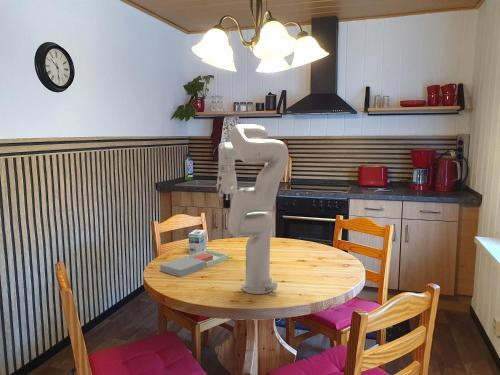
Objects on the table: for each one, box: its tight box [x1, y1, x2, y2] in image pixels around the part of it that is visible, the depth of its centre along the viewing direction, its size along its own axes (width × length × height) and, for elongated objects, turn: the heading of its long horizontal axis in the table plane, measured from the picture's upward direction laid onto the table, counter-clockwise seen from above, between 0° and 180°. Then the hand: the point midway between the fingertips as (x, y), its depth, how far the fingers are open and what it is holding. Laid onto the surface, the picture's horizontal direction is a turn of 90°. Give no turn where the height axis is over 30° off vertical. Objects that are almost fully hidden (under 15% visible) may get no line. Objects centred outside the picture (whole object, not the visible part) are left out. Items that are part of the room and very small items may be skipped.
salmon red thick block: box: [192, 253, 213, 262], centre depth 188 cm, size 6×9×2 cm, turn 144°
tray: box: [186, 249, 230, 268], centre depth 191 cm, size 15×16×2 cm
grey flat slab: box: [159, 255, 207, 278], centre depth 177 cm, size 13×16×3 cm
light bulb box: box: [188, 228, 208, 255], centre depth 205 cm, size 11×7×11 cm, turn 168°
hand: (226, 207), depth 183 cm, fingers closed
